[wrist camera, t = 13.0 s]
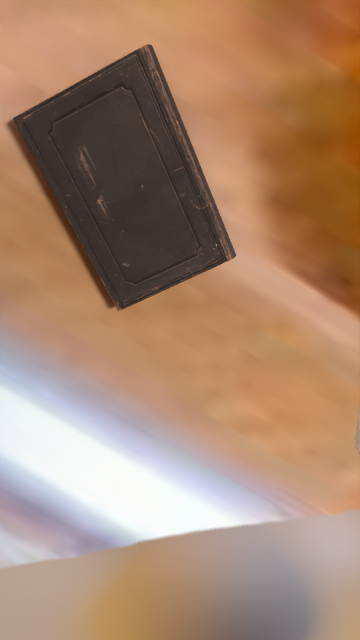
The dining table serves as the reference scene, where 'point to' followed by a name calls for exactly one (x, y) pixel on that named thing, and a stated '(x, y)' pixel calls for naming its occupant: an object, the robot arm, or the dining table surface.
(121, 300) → the hardcover book
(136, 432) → the dining table surface
